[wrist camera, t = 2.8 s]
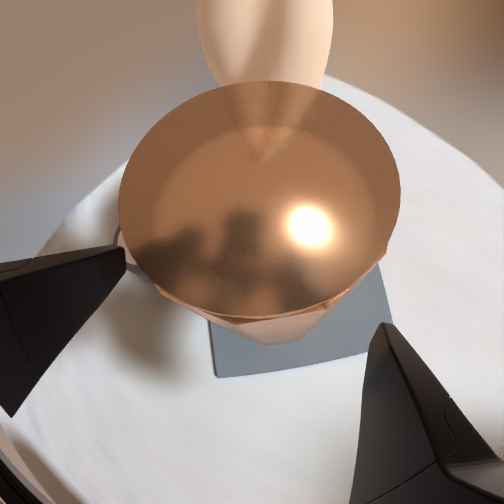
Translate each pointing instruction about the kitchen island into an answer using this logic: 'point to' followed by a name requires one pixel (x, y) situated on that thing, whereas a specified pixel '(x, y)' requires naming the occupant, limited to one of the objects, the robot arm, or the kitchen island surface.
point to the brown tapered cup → (260, 206)
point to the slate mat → (309, 336)
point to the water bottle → (266, 40)
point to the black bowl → (129, 256)
